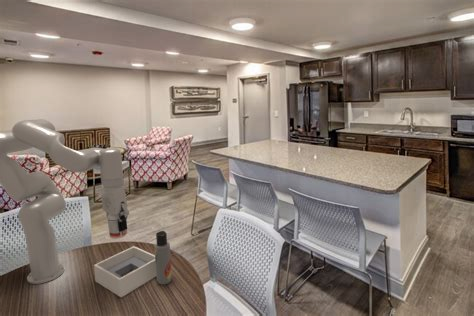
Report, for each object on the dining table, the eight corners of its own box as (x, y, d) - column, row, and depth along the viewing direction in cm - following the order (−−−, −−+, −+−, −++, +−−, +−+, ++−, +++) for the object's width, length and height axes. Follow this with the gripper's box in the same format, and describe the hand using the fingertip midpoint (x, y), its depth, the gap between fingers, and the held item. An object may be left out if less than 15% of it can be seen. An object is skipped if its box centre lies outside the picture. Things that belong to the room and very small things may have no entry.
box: (95, 281, 112) (93, 265, 111) (135, 260, 127) (134, 246, 125) (121, 297, 102) (119, 279, 101) (161, 273, 117) (159, 257, 116)
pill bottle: (124, 230, 114) (121, 203, 111) (129, 235, 109) (126, 207, 107) (107, 235, 110) (104, 207, 108) (112, 240, 105) (108, 211, 103)
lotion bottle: (174, 278, 114) (172, 230, 110) (165, 286, 108) (162, 237, 105) (163, 274, 116) (160, 228, 112) (153, 282, 111) (150, 234, 107)
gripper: (90, 181, 108) (96, 226, 111) (116, 188, 97) (121, 237, 101) (109, 177, 113) (114, 219, 117) (135, 183, 103) (140, 230, 107)
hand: (117, 227), depth 109 cm, fingers closed on pill bottle, 6 cm apart
